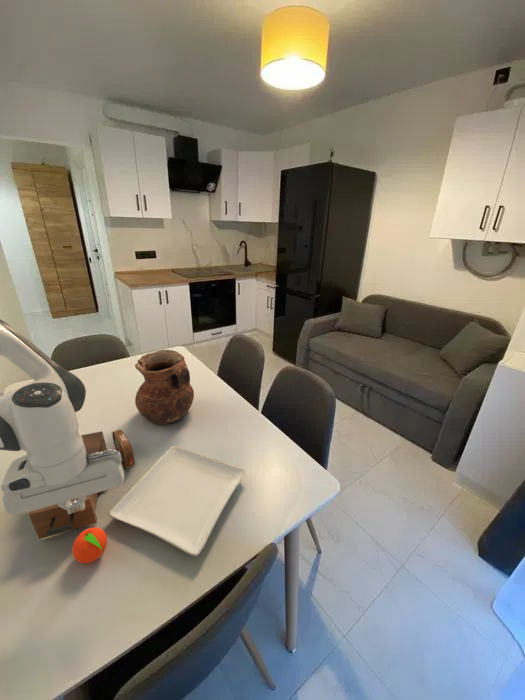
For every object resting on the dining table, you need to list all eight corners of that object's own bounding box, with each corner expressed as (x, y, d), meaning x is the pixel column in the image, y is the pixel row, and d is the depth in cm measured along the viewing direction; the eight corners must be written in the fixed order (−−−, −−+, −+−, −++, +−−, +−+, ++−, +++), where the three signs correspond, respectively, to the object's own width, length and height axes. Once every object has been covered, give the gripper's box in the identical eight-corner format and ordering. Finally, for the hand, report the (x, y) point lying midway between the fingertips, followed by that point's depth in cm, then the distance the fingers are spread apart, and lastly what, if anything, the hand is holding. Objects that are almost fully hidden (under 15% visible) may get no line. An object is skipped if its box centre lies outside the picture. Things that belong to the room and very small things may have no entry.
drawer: (94, 538, 71) (86, 514, 67) (33, 557, 66) (21, 532, 63) (102, 481, 86) (96, 459, 82) (52, 493, 81) (44, 470, 78)
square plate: (173, 452, 99) (172, 443, 97) (246, 478, 90) (246, 469, 88) (108, 522, 76) (105, 512, 74) (198, 566, 67) (197, 555, 65)
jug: (129, 430, 108) (118, 371, 97) (148, 398, 127) (140, 346, 117) (189, 431, 109) (185, 372, 98) (199, 399, 128) (195, 347, 118)
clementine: (119, 549, 70) (114, 529, 67) (93, 578, 64) (86, 558, 61) (96, 534, 73) (90, 515, 70) (69, 561, 67) (61, 541, 64)
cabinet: (104, 492, 84) (96, 464, 79) (48, 506, 79) (37, 478, 75) (108, 456, 96) (102, 431, 92) (60, 467, 91) (51, 440, 87)
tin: (113, 446, 100) (109, 427, 97) (123, 442, 102) (119, 423, 98) (127, 474, 90) (123, 453, 86) (138, 469, 92) (134, 448, 88)
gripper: (119, 437, 63) (129, 483, 69) (1, 464, 55) (24, 513, 61) (119, 457, 58) (129, 505, 63) (-11, 490, 50) (14, 541, 56)
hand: (77, 509), depth 62 cm, fingers closed
